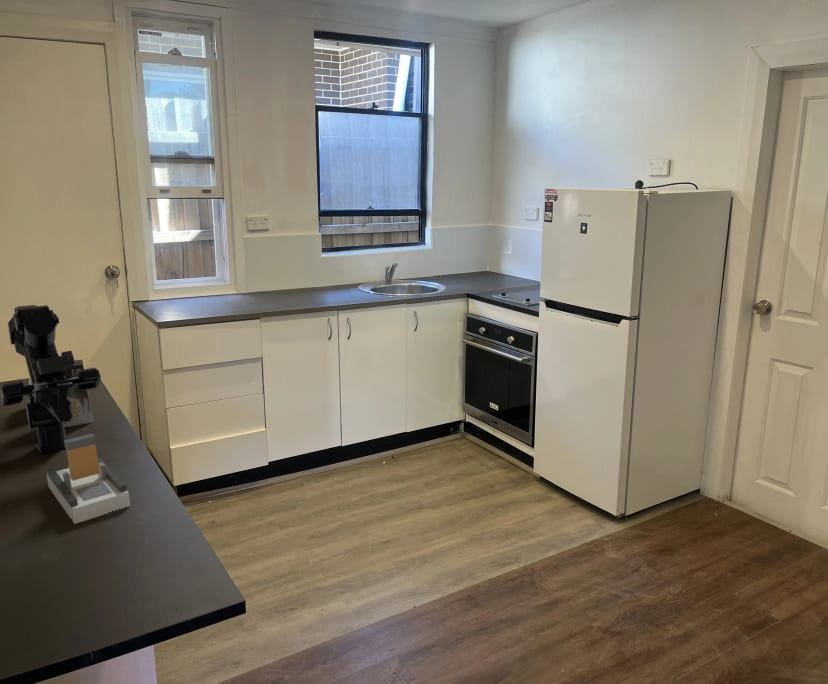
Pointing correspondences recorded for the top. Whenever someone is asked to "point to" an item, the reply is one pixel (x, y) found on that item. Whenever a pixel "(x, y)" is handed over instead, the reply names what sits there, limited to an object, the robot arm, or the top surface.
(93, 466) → the lever
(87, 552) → the top surface
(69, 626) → the top surface
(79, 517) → the tray
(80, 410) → the coffee box
